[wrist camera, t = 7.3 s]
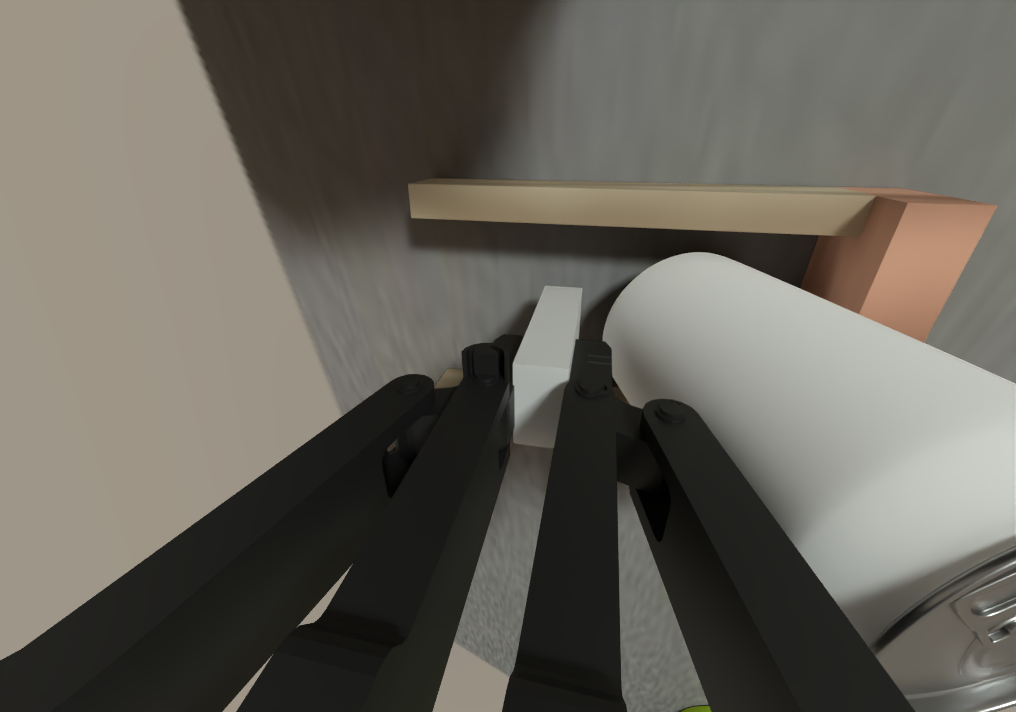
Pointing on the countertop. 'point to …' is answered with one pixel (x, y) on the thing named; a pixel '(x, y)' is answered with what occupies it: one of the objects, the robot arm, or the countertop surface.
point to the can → (850, 460)
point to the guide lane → (759, 231)
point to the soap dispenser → (698, 709)
